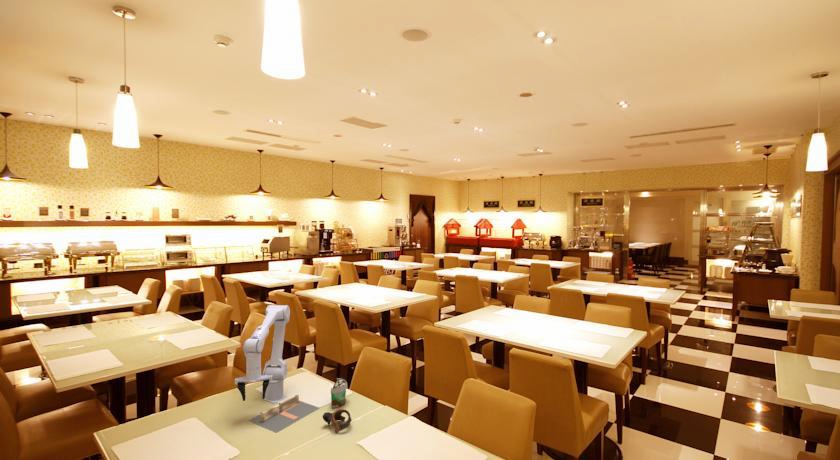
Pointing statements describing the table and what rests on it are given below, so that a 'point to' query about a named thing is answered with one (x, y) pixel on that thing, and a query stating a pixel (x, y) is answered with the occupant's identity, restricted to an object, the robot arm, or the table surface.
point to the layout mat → (285, 417)
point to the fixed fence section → (288, 403)
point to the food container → (338, 393)
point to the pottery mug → (336, 416)
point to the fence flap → (269, 413)
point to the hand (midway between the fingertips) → (253, 398)
